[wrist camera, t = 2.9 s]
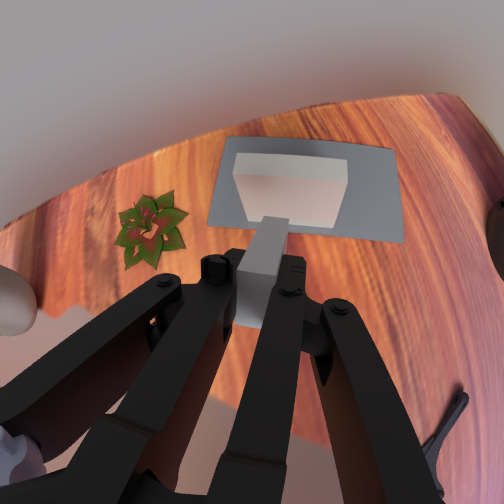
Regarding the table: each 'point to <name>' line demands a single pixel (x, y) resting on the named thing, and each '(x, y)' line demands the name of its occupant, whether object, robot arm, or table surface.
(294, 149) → the mat
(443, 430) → the bracket
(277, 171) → the tile
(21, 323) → the grey bottle
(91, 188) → the table surface
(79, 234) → the table surface
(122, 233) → the lily flower
